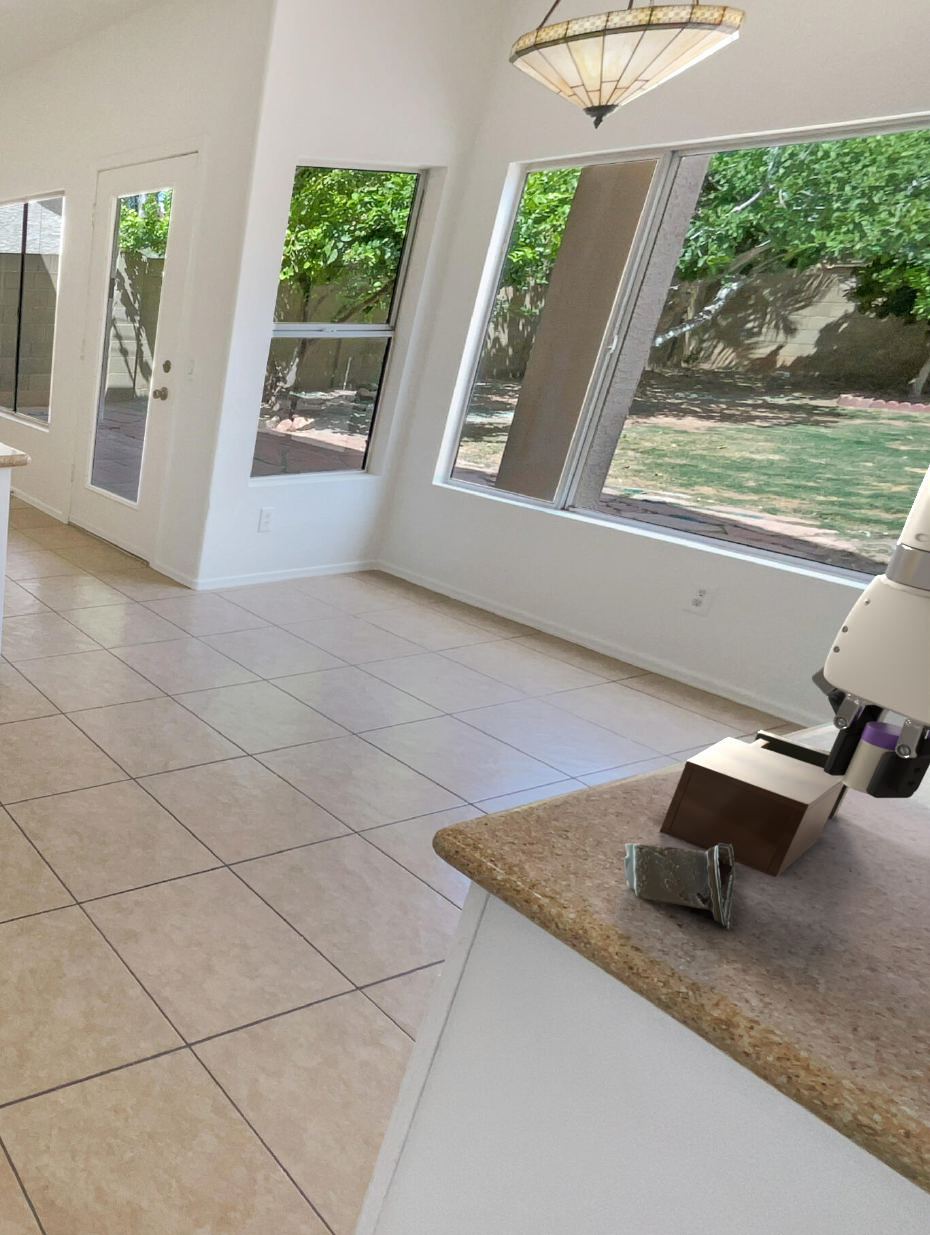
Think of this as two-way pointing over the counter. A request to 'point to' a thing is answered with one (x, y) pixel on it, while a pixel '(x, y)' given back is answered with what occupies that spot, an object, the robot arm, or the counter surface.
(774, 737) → the drawer
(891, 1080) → the counter surface
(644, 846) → the squashed foil tin
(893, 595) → the robot arm
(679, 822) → the cabinet
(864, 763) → the glue stick
